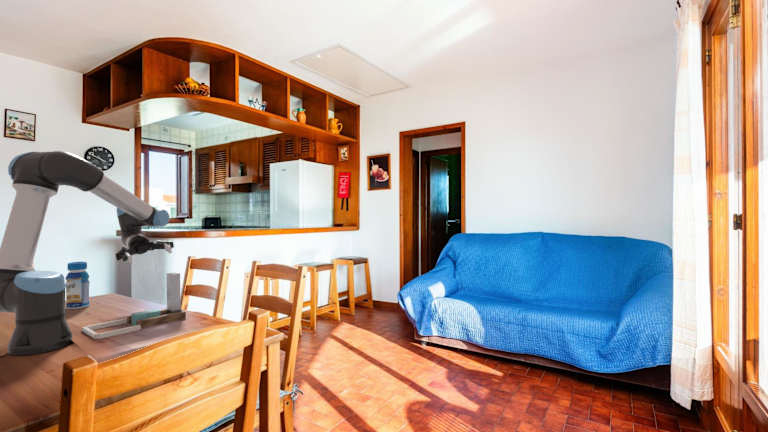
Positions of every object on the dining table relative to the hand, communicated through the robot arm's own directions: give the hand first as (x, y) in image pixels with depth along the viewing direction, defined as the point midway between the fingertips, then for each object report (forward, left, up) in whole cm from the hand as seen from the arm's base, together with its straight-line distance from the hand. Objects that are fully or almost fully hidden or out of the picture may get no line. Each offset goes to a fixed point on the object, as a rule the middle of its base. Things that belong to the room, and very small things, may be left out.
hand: (151, 254), depth 147 cm
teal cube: (-7, -7, -24) cm, 26 cm away
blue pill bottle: (-11, +50, -26) cm, 57 cm away
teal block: (-2, -7, -24) cm, 25 cm away
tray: (-15, -7, -26) cm, 31 cm away
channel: (-1, -7, -26) cm, 27 cm away
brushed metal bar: (+5, -7, -24) cm, 26 cm away
